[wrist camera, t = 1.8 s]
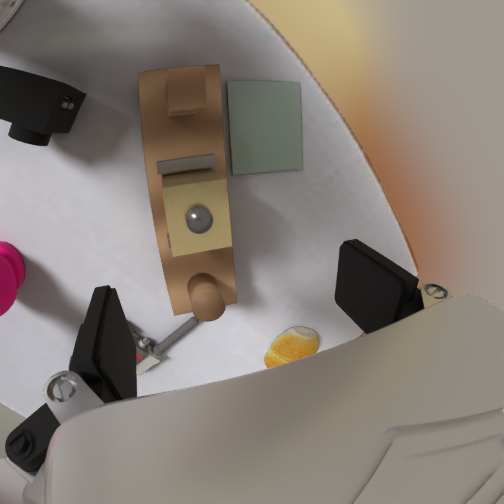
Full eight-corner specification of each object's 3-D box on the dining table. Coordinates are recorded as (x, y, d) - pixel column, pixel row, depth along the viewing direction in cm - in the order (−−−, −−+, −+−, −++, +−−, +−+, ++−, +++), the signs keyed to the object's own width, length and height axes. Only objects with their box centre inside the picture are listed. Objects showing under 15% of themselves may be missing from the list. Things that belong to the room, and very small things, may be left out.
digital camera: (-4, 119, 17) (-38, 120, 11) (16, 72, 15) (-16, 62, 9) (64, 144, 21) (38, 148, 15) (87, 94, 20) (65, 83, 14)
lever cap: (161, 175, 22) (162, 190, 17) (211, 168, 24) (229, 180, 18) (169, 229, 25) (173, 260, 19) (216, 221, 26) (234, 249, 20)
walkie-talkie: (111, 388, 35) (201, 316, 35) (110, 410, 31) (207, 338, 31) (64, 359, 31) (151, 274, 30) (59, 381, 27) (151, 294, 27)
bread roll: (255, 366, 42) (264, 384, 38) (280, 322, 39) (291, 339, 36) (296, 367, 45) (306, 383, 42) (322, 328, 43) (334, 343, 39)
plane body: (141, 81, 21) (131, 53, 13) (211, 73, 23) (238, 45, 15) (171, 295, 32) (180, 354, 23) (228, 284, 34) (254, 337, 25)
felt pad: (226, 81, 24) (227, 81, 24) (298, 83, 26) (299, 82, 26) (232, 174, 28) (233, 175, 28) (300, 168, 30) (302, 169, 30)
